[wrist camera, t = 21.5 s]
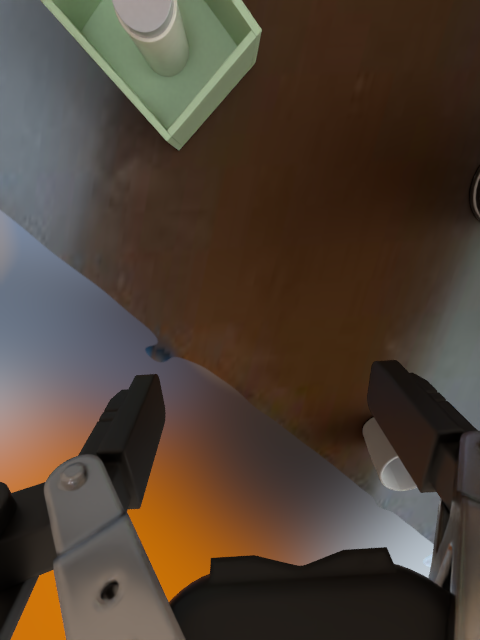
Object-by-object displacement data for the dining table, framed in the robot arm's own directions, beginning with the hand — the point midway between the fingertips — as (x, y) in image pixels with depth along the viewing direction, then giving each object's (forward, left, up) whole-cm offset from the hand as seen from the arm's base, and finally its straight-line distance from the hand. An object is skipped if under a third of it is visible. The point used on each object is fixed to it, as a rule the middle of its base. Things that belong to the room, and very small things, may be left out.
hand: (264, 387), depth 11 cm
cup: (+2, +37, -28) cm, 46 cm away
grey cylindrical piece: (-8, -19, -27) cm, 34 cm away
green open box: (-8, -19, -28) cm, 35 cm away
